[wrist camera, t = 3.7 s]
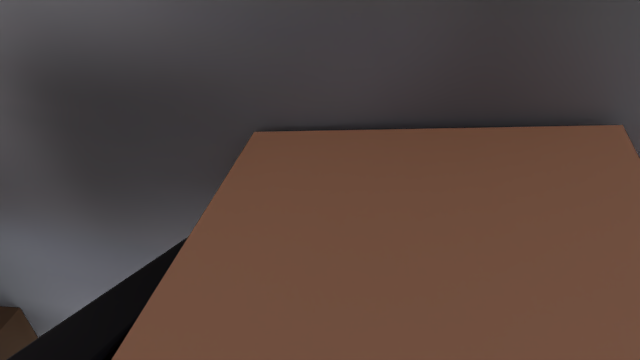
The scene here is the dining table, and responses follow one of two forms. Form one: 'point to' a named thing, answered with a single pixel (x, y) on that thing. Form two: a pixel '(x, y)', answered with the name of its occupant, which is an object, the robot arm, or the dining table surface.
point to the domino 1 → (14, 331)
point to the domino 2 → (410, 250)
